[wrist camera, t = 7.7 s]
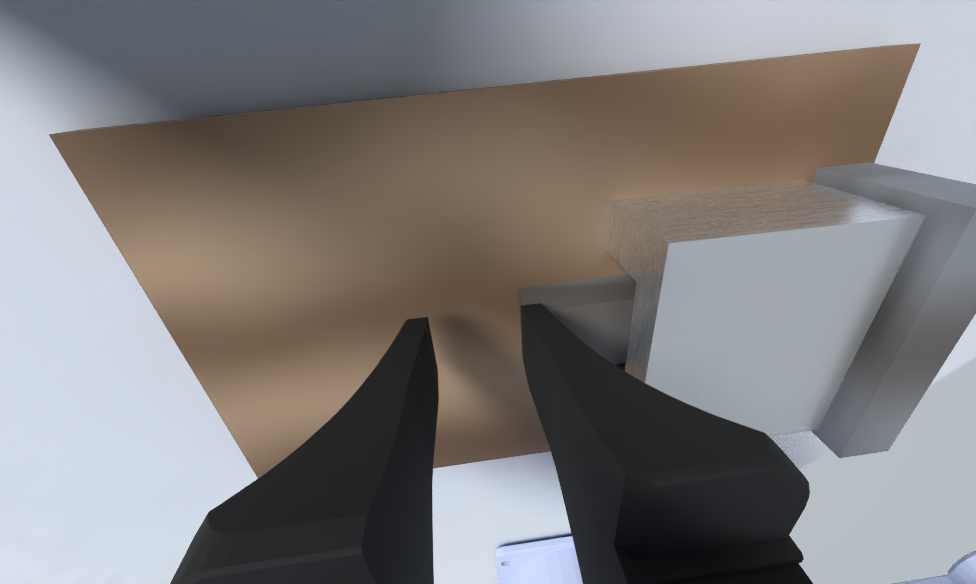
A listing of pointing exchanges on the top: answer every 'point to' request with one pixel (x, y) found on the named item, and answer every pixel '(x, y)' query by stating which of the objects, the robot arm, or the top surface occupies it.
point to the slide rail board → (498, 234)
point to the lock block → (755, 294)
